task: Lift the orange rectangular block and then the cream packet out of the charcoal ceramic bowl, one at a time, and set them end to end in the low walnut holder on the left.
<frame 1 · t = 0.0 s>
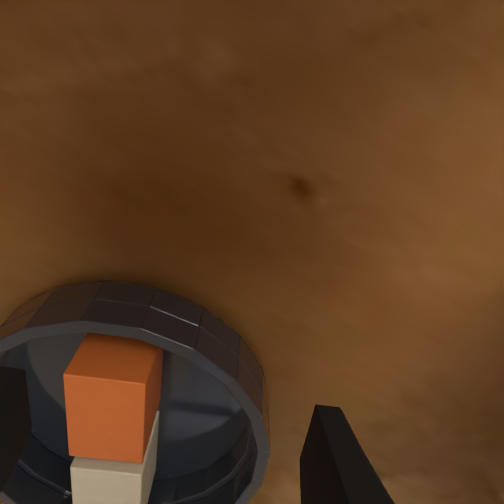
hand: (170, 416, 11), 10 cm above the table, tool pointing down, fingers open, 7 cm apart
orange rectangular block: (130, 360, 22), point 1 cm above the table, touching bowl
cream packet: (128, 437, 25), point 1 cm above the table, touching bowl
bowl: (132, 392, 24), on the table
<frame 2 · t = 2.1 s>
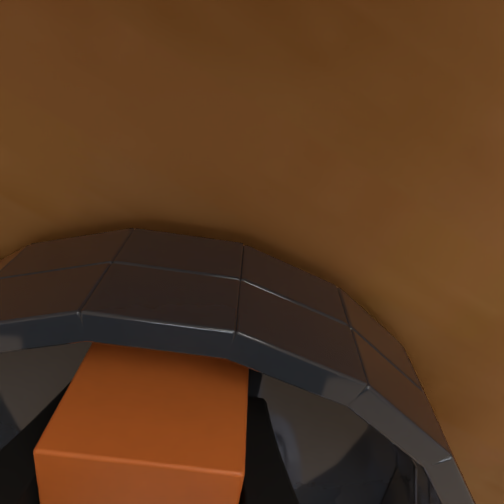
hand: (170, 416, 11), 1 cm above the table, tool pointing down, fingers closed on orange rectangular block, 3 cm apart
orange rectangular block: (174, 392, 12), point 1 cm above the table, touching bowl, gripper
bowl: (173, 446, 13), on the table
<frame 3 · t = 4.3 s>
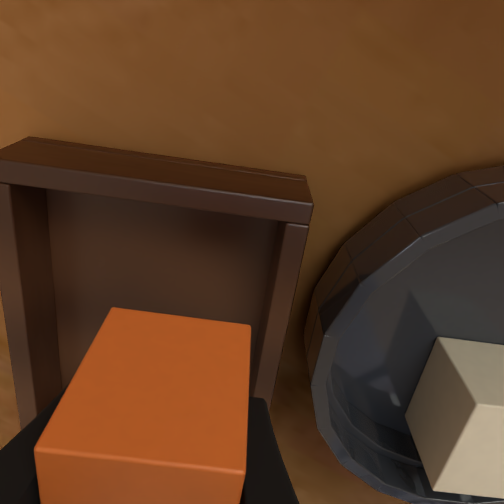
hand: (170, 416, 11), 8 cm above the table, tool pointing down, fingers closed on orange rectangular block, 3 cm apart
orange rectangular block: (175, 391, 11), point 8 cm above the table, touching gripper
holder: (160, 321, 20), on the table
cream packet: (454, 382, 20), point 1 cm above the table, touching bowl
bowl: (471, 325, 20), on the table
when the fingers open (1 cm above the table, at t = 6.7 s): orange rectangular block stays where it is, resting on holder.
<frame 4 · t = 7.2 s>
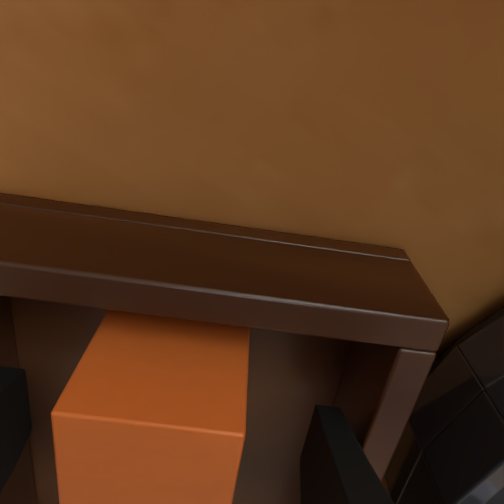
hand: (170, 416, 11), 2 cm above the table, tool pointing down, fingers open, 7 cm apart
orange rectangular block: (178, 371, 12), point 1 cm above the table, touching holder
holder: (176, 436, 14), on the table
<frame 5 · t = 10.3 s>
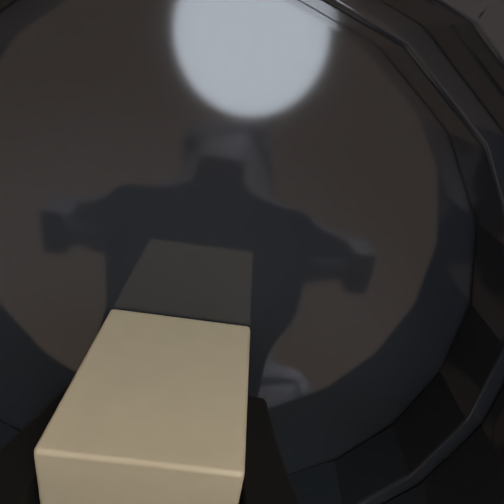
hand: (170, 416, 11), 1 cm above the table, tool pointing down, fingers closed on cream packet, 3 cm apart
cream packet: (174, 392, 12), point 1 cm above the table, touching bowl, gripper
bowl: (187, 289, 11), on the table
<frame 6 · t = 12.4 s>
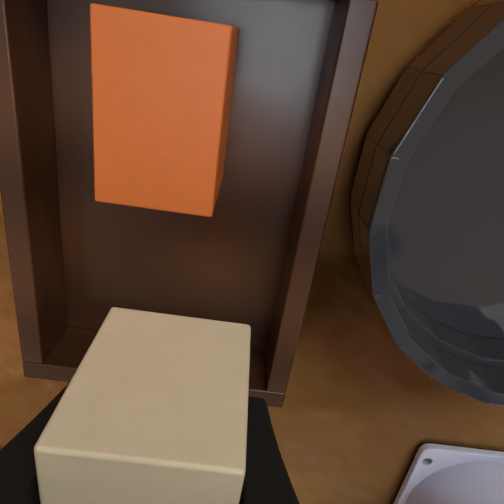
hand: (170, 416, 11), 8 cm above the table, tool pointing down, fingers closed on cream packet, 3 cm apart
orange rectangular block: (182, 101, 15), point 1 cm above the table, touching holder
holder: (180, 188, 17), on the table
cream packet: (175, 390, 11), point 8 cm above the table, touching gripper
when the fingers open (1 cm above the table, at t = 14.7 s): cream packet stays where it is, resting on holder.
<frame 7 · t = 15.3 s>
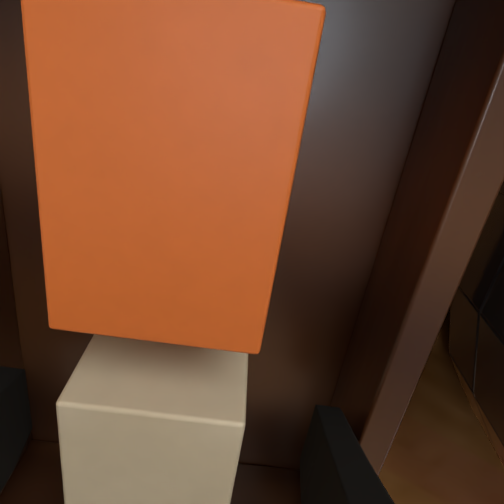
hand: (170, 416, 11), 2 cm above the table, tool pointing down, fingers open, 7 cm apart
orange rectangular block: (200, 135, 9), point 1 cm above the table, touching holder
holder: (193, 258, 11), on the table
cream packet: (179, 366, 12), point 1 cm above the table, touching holder
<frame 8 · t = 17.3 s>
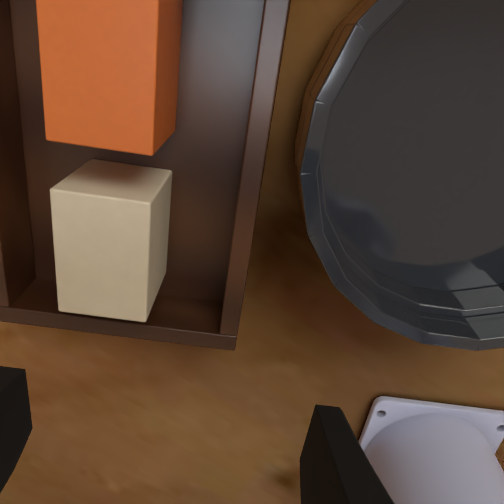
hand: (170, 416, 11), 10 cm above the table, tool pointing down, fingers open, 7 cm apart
orange rectangular block: (134, 57, 16), point 1 cm above the table, touching holder
holder: (137, 143, 18), on the table
cream packet: (131, 218, 19), point 1 cm above the table, touching holder
bowl: (477, 145, 18), on the table
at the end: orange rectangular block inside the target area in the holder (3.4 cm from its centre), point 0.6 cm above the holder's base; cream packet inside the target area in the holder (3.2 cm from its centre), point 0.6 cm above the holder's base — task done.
